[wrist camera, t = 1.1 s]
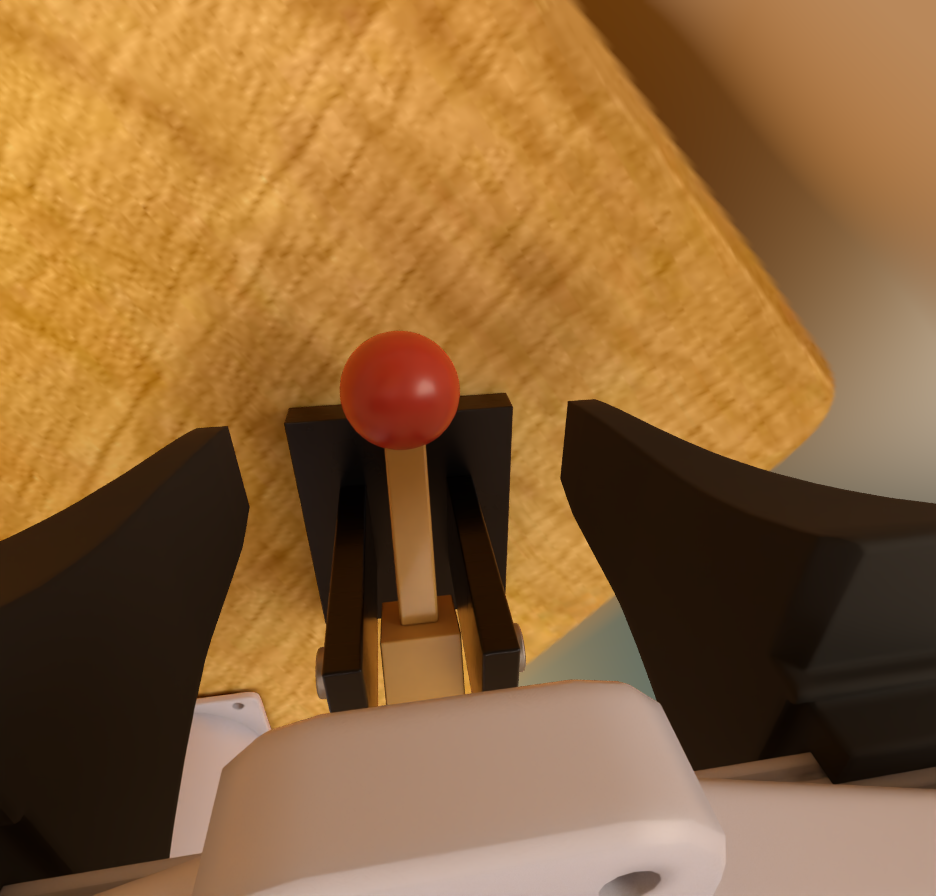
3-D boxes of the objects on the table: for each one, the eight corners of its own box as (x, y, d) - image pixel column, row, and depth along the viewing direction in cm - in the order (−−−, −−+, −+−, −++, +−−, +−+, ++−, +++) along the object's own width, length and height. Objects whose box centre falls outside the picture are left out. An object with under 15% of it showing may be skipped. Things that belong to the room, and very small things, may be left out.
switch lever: (339, 335, 16) (326, 332, 12) (449, 329, 16) (463, 324, 13) (374, 677, 18) (370, 747, 14) (470, 664, 18) (486, 730, 15)
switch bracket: (288, 408, 19) (229, 601, 11) (506, 392, 20) (590, 560, 12) (327, 604, 24) (305, 832, 17) (500, 584, 25) (556, 790, 18)
